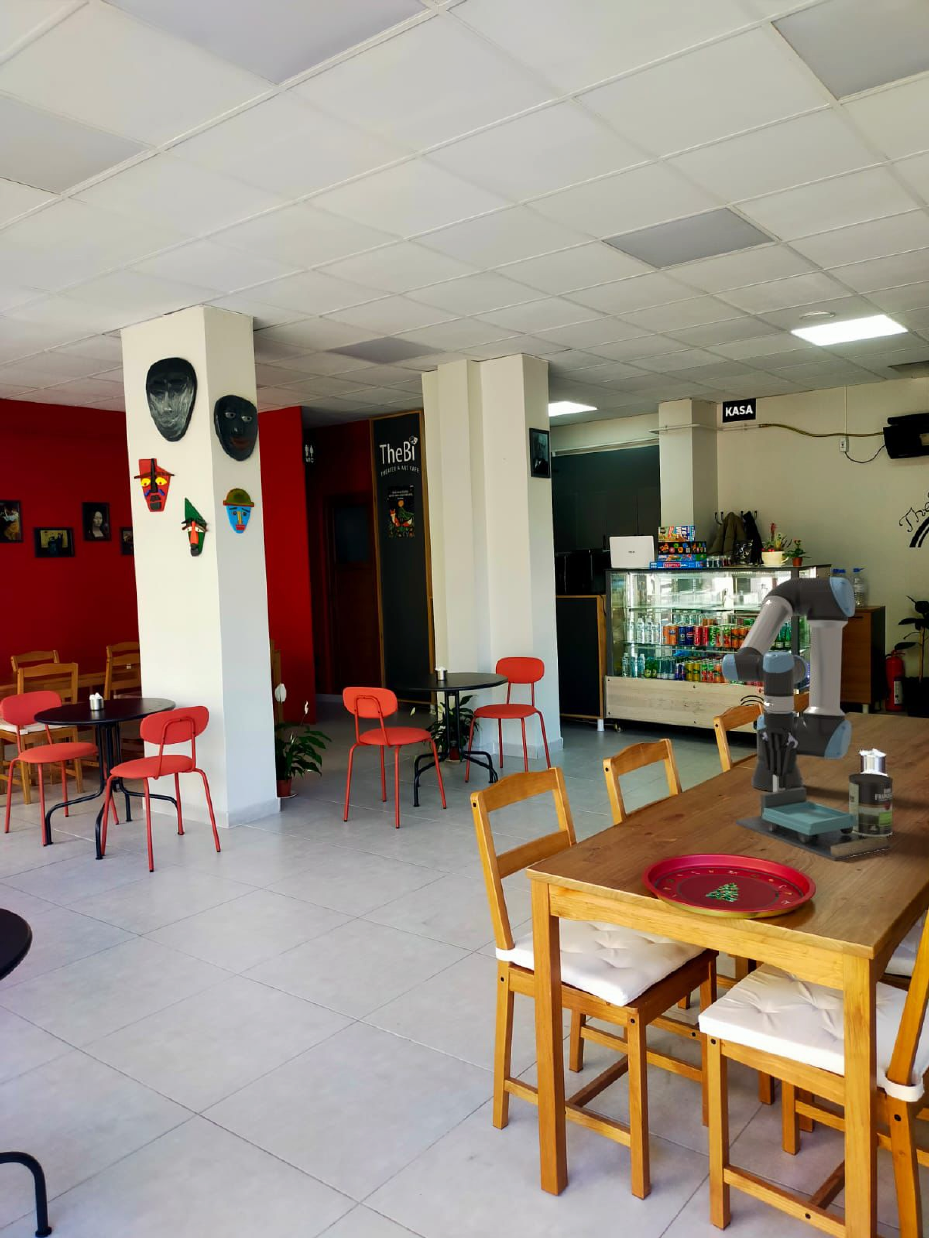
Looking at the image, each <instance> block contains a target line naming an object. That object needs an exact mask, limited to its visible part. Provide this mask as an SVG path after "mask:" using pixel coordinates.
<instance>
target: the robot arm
mask: <svg viewBox="0 0 929 1238" xmlns="http://www.w3.org/2000/svg"><path fill="white" fill-rule="evenodd" d="M854 592H855V591H854V589H853V586H852V583H851V582H850V581H849V579H847V578H845V577H839V576H838V577H834V576H828V577H827V576H824V577H794V578H790V579H788V580H785V581H783V582H780V583H779V584H777V585H776V586H775V587H773V588H772V589H771V590H770V591H769V592H768V593H767V594H766V595H765V596H764V597H763V600H762V601H761V603H760V606H759V607H760V608H759V609H760V611H759V613H758V615H757V617H756V619H755V620H754V622H753V624H752V626H751V627H750V630H749V631H748V633H747V635H746V636H745V638H744V640H743V642H742V644H741V645H740V647H739V649H738V651H737V652H736V653H728V654H725V655H724V656H723V658H722V662H721V673H722V676H723V678H724V679H725V680H727V681H734V682H739V683H740V682H745V683H746V682H748V683H749V682H750V683H762V684H763V709H764V710H765V711H764V712H763V713H762V714H760V715H759V716H758V717H757V719H756V721H757V722H756V724H757V725H756V726H757V727H756V751H757V752H756V753H757V754H756V755H757V758H756V760H757V761H756V764H755V768H754V772H753V774H752V776H751V786H752V787H753V788H755V789H758V790H762V791H765V790H767V792H776V791H782V790H788V789H794V788H800V787H803V788H804V779H803V777H802V774H801V770H800V767H799V764H798V756H802V757H811V758H819V759H825V760H828V759H832V760H840V759H842V758H843V757H844V756H845V755H846V754H847V752H848V749H849V746H850V742H851V738H852V737H851V736H852V723H851V721H849V720H848V719H846V713H845V712H844V711H843V710H842V709H841V707H840V706H841V704H840V703H841V680H842V675H841V673H842V672H841V671H842V648H843V646H842V644H843V643H842V641H843V628H844V627H846V625H847V624H848V623H849V618H851V617H853V616H854V615H855V613H856V612H855V611H856V610H855V609H856V599H855V594H854ZM797 616H801V617H802V616H803V617H806V618H805V619H806V620H805V622H806V623H807V624H808V625H809V626H810V628H811V629H810V630H811V632H810V663H809V664H808V662H807V660H806V659H805V658H804V657H802V656H800V655H797V654H793V653H791V652H788V651H771V652H770V650H771V648H772V646H773V644H774V642H775V640H776V639H777V637H778V634H779V633H780V632H781V629H782V627H783V626H784V624H785V623H786V622H788V621H790V620H791V618H792V617H797ZM809 666H810V667H809ZM808 674H809V694H808V695H809V696H808V697H809V698H808V707H807V708H806V709H805V710H804V711H803V713H802V714H803V715H802V716H798V713H797V711H795V693H794V692H795V688H794V687H795V684H799V683H800V682H802V681H803V680H804V679H806V677H808Z"/></svg>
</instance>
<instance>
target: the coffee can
mask: <svg viewBox="0 0 929 1238" xmlns="http://www.w3.org/2000/svg"><path fill="white" fill-rule="evenodd" d="M848 780H849V781H848V782H849V783H848V784H849V786H848V788H849V790H848V793H849V796H848V797H849V798H848V800H849V802H848V803H849V804H848V805H849V806H848V807H849V808H848V809H849V812H848V813H850V814H853V815H856V820H858V826H855V827H853V831H852V833H854V834H857V835H860V836H861V835H862V836H863V837H866V836H868V837H867V838H873V837H878V836H882V837H885V838H888V837H890V836H889V835H891V836H892V835H893V783H894V779H893V778H892V777H890V776H888V775H883V774H879V773H867V772H863V773H861V772H860V773H854V774H853V773H852V774H850V775H848ZM887 836H888V837H887Z"/></svg>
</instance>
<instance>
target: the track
mask: <svg viewBox="0 0 929 1238" xmlns="http://www.w3.org/2000/svg"><path fill="white" fill-rule="evenodd" d="M734 822H735V823H734V824H735V825H737V826H741V827H743V828H746V829H749V830H751V831H754V832H757V833H760V834H762V835H765V836H767V837H770V838H773V839H775V840H778V841H781V842H783V843H786V844H789V845H790V846H794V847H797V848H799V849H802V850H805V851H807V852H810V853H812V854H815V855H818V856H820V857H823V858H826V859H829V860H831V859H832V860H831V861H833V860H836V861H839V860H838V859H841V860H845V859H844V858H846V859H848V858H847V857H850V856H853V855H859V854H864V853H867V852H874V851H877V850H882V849H888V850H890V849H891V845H889V844H888V837H882V836H878V837H866V836H861V835H857V834H854V833H850V834H843V833H842V832H841V830H840V829H839V830H834V831H829V832H824V833H819V834H814V835H812V839H811V841H810V842H805V843H804V842H802V841H801V840H800V839H799V835H798V833H799V832H798V831H795V830H792V829H790V828H787V827H784V826H781V825H779V828H778V830H774V831H771V830H770V829H769V828H768V826H767V820H764V819H762V817H761V815H758V816H754V817H753V816H752V817H747V818H742V819H737V820H735V821H734ZM889 848H890V849H889ZM874 853H875V852H874ZM864 855H865V854H864ZM850 858H851V857H850Z"/></svg>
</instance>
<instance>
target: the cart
mask: <svg viewBox="0 0 929 1238" xmlns="http://www.w3.org/2000/svg"><path fill="white" fill-rule="evenodd" d="M760 816H761V817H762V819H764V820H767V826H768V828H769V829H770V830H771V831H774V830H778V828H779V825H781V826H784V827H787V828H790V829H792V830H795V831H798V832H799V833H798V835H799V839H800V840H801V841H802V842H804V843H805V842H810V841H811V839H812V835H814V834H819V833H824V832H829V831H834V830H839V829H840V830H841V832H842V833H843V834H850V833H852V831H853V827H855V826H858V820H856V815H853V814H850V813H849V812H846V811H843V810H839V809H836V808H833V807H831V806H826V805H825V804H824V805H823V804H820V803H817V802H815V801H814V802H813V801H811V800H807V788H806V787H804V786H803V787H800V788H794V789H788V790H782V791H776V792H772V791H769V792H766V793H761V794H760Z"/></svg>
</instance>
